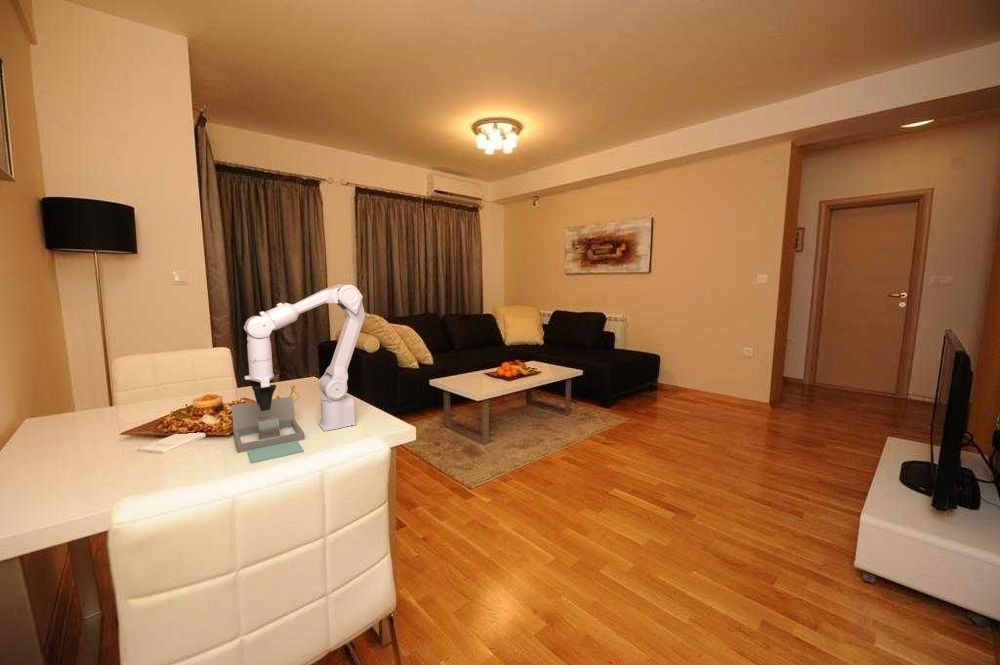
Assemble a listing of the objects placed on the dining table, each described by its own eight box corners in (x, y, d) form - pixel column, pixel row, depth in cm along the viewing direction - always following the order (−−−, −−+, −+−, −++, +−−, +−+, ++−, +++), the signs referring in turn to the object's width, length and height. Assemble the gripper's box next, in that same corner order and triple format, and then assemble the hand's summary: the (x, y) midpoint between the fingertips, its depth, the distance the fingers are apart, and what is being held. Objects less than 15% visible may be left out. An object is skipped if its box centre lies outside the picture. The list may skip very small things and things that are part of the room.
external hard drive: (205, 438, 119) (163, 456, 107) (182, 436, 120) (137, 453, 108) (205, 433, 118) (162, 450, 106) (181, 430, 120) (136, 447, 108)
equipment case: (294, 424, 129) (292, 396, 128) (304, 439, 117) (302, 408, 116) (233, 435, 120) (231, 405, 119) (238, 452, 108) (235, 419, 107)
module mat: (297, 442, 115) (297, 440, 115) (303, 451, 109) (303, 450, 109) (247, 452, 108) (247, 450, 108) (250, 463, 102) (250, 461, 102)
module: (277, 434, 121) (276, 414, 121) (279, 438, 118) (278, 418, 117) (258, 437, 118) (256, 417, 118) (259, 442, 115) (258, 421, 114)
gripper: (240, 356, 118) (244, 402, 120) (246, 365, 106) (250, 416, 108) (268, 354, 122) (271, 398, 124) (276, 362, 110) (280, 411, 112)
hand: (263, 406), depth 116 cm, fingers open, 7 cm apart
